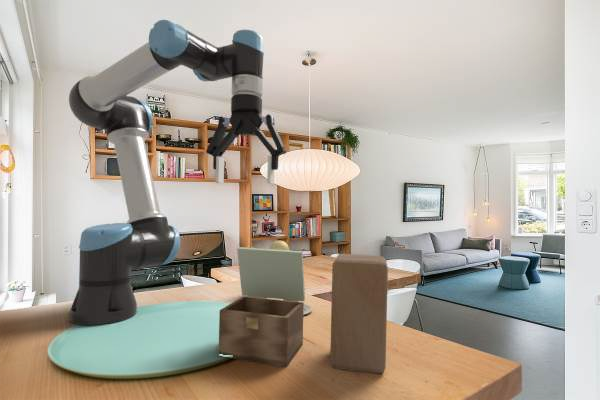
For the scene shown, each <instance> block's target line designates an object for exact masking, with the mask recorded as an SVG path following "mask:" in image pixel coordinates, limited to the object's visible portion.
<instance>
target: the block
mask: <svg viewBox="0 0 600 400" xmlns="http://www.w3.org/2000/svg"><path fill="white" fill-rule="evenodd" d="M331 268H332V270H331V271H332V272H331V274H332V275H331V276H332V278H331V308H330V309H331V310H330V312H331V313H330V314H331V316H330V318H331V319H330V346H329V347H330V349H329V351H330V353H329V354H330V358H329V362H330V364H331V367H332V368H334V369H342V370H343V369H344V370H351V371H356V372H357V371H358V372H367V373H368V372H369V373H376V374H383V373H384V372H385V370H386V360H387V359H386V358H387V357H386V356H387V355H386V353H387V351H386V350H387V320H388V319H387V318H388V314H387V313H388V279H389V278H388V275H389V274H388V273H389V267H388V263H387V259H386V257H384V256H382V255H371V254H356V253H355V254H352V253H350V254H349V253H340V254H337V256H336V258H335V259H334V261H333V262H332V267H331Z"/></svg>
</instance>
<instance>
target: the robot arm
mask: <svg viewBox="0 0 600 400" xmlns="http://www.w3.org/2000/svg"><path fill="white" fill-rule="evenodd" d="M231 41H232V42H231V44H228V45H222V46H219V47H218V46H216V45H214V44H212V43H210V42H208V41H206V40H205V39H203V38H201V37H199V36H198V35H197V34H194V33H193V32H191V31H189V30H187V29H186V28H184V27H183V26H182V25H180V24H178V23H174V22H172V21H170V20H168V19H160V20H158V21H156V22H155V23H154V24H153V27H151V28H150V30H149V35H148V42H147V43H145V44H143V45H142V46H139V47H138V48H137V49H135V50H134V51H132V52H130V53H129V54H127V55H126V56H124V57H123V58H121V59H119V60H118V61H116V62H115V63H113V64H111V65H110V66H109V67H107V68H105V69H103V71H101V72H99V73H97V74H96V75H94V76H91V75H88V76H85V77H83V78H81V79H80V80H78V81H77V82H76V83H75V84H73V86H72V87H71V90H70V91H69V95H68V102H69V103H68V104H69V108H70V110H71V112H72V113H73V115H74V117H75V118H76V119H77V120H78V121H80V122H81V123H82V124H84V125H86V126H88V127H91V128H94V129H95V128H96V129H99V130H104V131H105V133H106V139H107V141H108V142H109V143H111V144H112V145H113V146H114V150H115V156H116V160H117V165H118V170H119V175H120V179H121V184H122V185H121V186H122V190H123V194H124V199H125V204H126V209H127V214H128V215H127V216H128V220H127V221H126V222H115V223H106V224H103V223H102V224H98V225H93V226H90V227H86V228H85V229H84V230H83V231H82V232H81V234H80V238H79V239H80V242H79V245H78V248H79V271H78V273H79V274H78V279H79V280H78V289H77V292H76V294H75V297H74V300H73V302H72V305H71V308H70V310H69V321H70V322H71V323H73V324H77V325H84V326H85V325H89V326H90V325H91V326H93V325H95V326H96V325H103V324H104V325H105V324H111V323H117V322H121V321H124V320H127V319H129V318H132V317H134V316H135V315H136V314H137V312H138V310H137V309H138V305H137V304H138V303H137V300H136V297H135V295H134V291H133V288H132V285H131V271H135V270H136V271H137V270H141V269H145V268H146V269H147V268H152V267H154V268H155V267H156V268H157V267H160V266H163V265H167V264H170V263H171V262H172V261H174V260H175V259H176V257H177V255H178V253H179V251H180V249H181V248H180V247H181V235H180V233H179V231H178V229H176V227H175V226H172V225H171V224H169V221H168V217H167V216H166V215H164V214H163V213H161V211H160V205H159V201H158V197H157V191H156V188H155V183H154V179H153V174H152V170H151V165H150V160H149V156H148V151H147V147H146V146H147V145H146V140H147V139H148V138H149V134H150V132H151V131H152V129H153V124H154V116H153V113H152V110H151V108H150V106H149V105H148V104H147V103H146V102H145V101H143V100H141V99H138V98H136V97H133V96H129V94H131V93H134V92H135V91H136V90H139V89H140V88H142V87H144V86H146V85H147V84H149V83H151V82H153V81H155V80H156V79H158V78H161V77H162V76H163V75H165V74H167V73H169V72H170V71H173V70H174V69H176V68H178V67H180V66H184V67H186V68H188V69H190V70H192V72H193V74H194V75H195V76H196V77H197V79H198V80H199V81H202V82H217V81H219V80H224V79H229V78H231V95H232V97H231V98H230V113H231V115H230V117H224V116H221V115H220V116H219V118H218V124H217V127H216V129H215V131H214V133H213V135H212V138H211V139H210V142H209V144H208V146H207V148H206V151H205V152H206V154H208V155H211V156H212V157H213V162H212V164H213V165H212V166H213V170H215V183H216V184H224V183H225V181H224V180H225V157H223V155H224V154H225V153H226V152H227V149H229V147H230V146H231V145H232V143H233V142H234V141H235V140H236V138H238V137H239V136H254V135H255V136H257V138H258V139H259V140H260V142H261V143H262V145H264V147H265V148H266V150H267V151H268V152H269V153H270V155H267V170H266V171H267V172H266V173H267V177H266V179H267V184H270V185H274V184H275V170H276V171H277V170H278V168H279V157H280V156H281V155H286V153H287V150H286V148H285V146H284V143H283V141H282V139H281V138H282V137H280V134H279V132H278V130H277V127H276V122H275V117H273V116H272V115H271V114H270V113H269V114H268V113H267V114H266V115H265V116H263V114H262V113H263V99H262V97H263V79H264V77H263V71H264V70H263V67H264V55H265V52H264V38H263V36H262V35H261V34H260V33H258V32H256V31H254V30H250V29H240V30H239V29H238V30H237V31H236V32H234V33H233V36H232V40H231ZM263 123H264V125H265V126H267V129H268V131H269V134H270V136H271V138H272V141H273V142H274V144H275V146H274V145H273V144H272V142H271V141H270V140H269V138H268V137H267V136H266V135H265V133H264V131H262V130H261V128H260V127H261V126H262V125H263ZM230 125H231V127H230V129H229V130H228V131H227V129H228V127H229V126H230ZM226 131H227V134H226ZM224 135H225V136H224ZM275 147H276V148H277V149H276V148H275Z"/></svg>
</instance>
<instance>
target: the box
mask: <svg viewBox="0 0 600 400" xmlns="http://www.w3.org/2000/svg"><path fill="white" fill-rule="evenodd" d="M304 304H305V302H304V301H299V302H294V301H284V300H283V299H275V298H265V297H256V296H246V295H242V296H241V297H239V298H238V299H236V300H235V301H233V302H231V303H230V304H228V305H225V306H224V307H223V308H221V309H219V313H218V314H219V320H218V321H219V323H218V354H223V355H233V360H239V361H247V362H252V363H259V364H264V365H271V366H277V367H283V368H284V367H285V368H287V367H288V366H289V364H290V363H291V362H292V361H293V359H294V358H295V356H296V354H297V353H298V352H299V351H300V349H301V348H302V347H303V346H304V345H303V342H304V341H303V340H304V339H303V338H304V337H303V336H304V316H303V313H304Z"/></svg>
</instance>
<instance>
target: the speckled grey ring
mask: <svg viewBox="0 0 600 400" xmlns="http://www.w3.org/2000/svg"><path fill="white" fill-rule="evenodd" d="M282 300H284V301H294V300H285V299H282ZM294 302H300V301H294ZM312 311H313V308H312V307H311V306H310V305H308V304H305V303H304V309H303V317H304V316H305V315H308V314H310V313H312Z"/></svg>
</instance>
